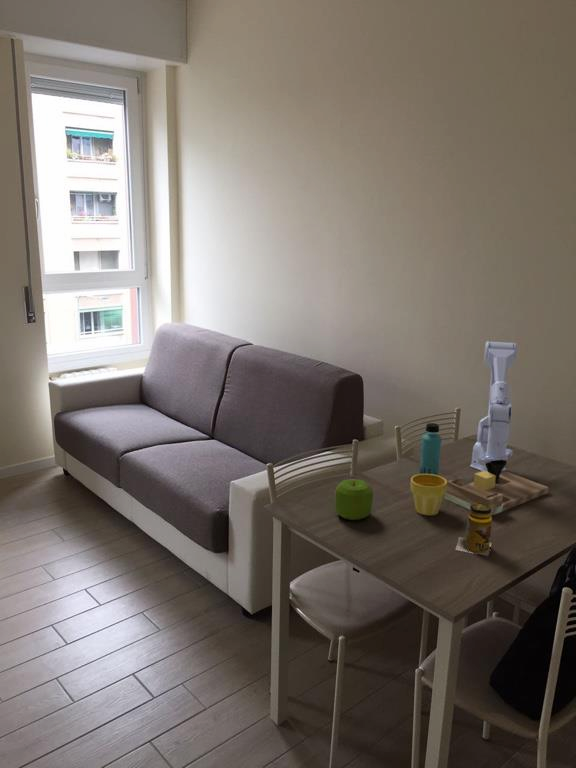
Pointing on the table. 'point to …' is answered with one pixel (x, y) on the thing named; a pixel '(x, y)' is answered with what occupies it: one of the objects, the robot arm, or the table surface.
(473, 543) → the condiment
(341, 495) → the apple
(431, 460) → the beverage bottle
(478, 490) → the trap board
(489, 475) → the mustard block
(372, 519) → the table surface
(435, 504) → the plant pot
